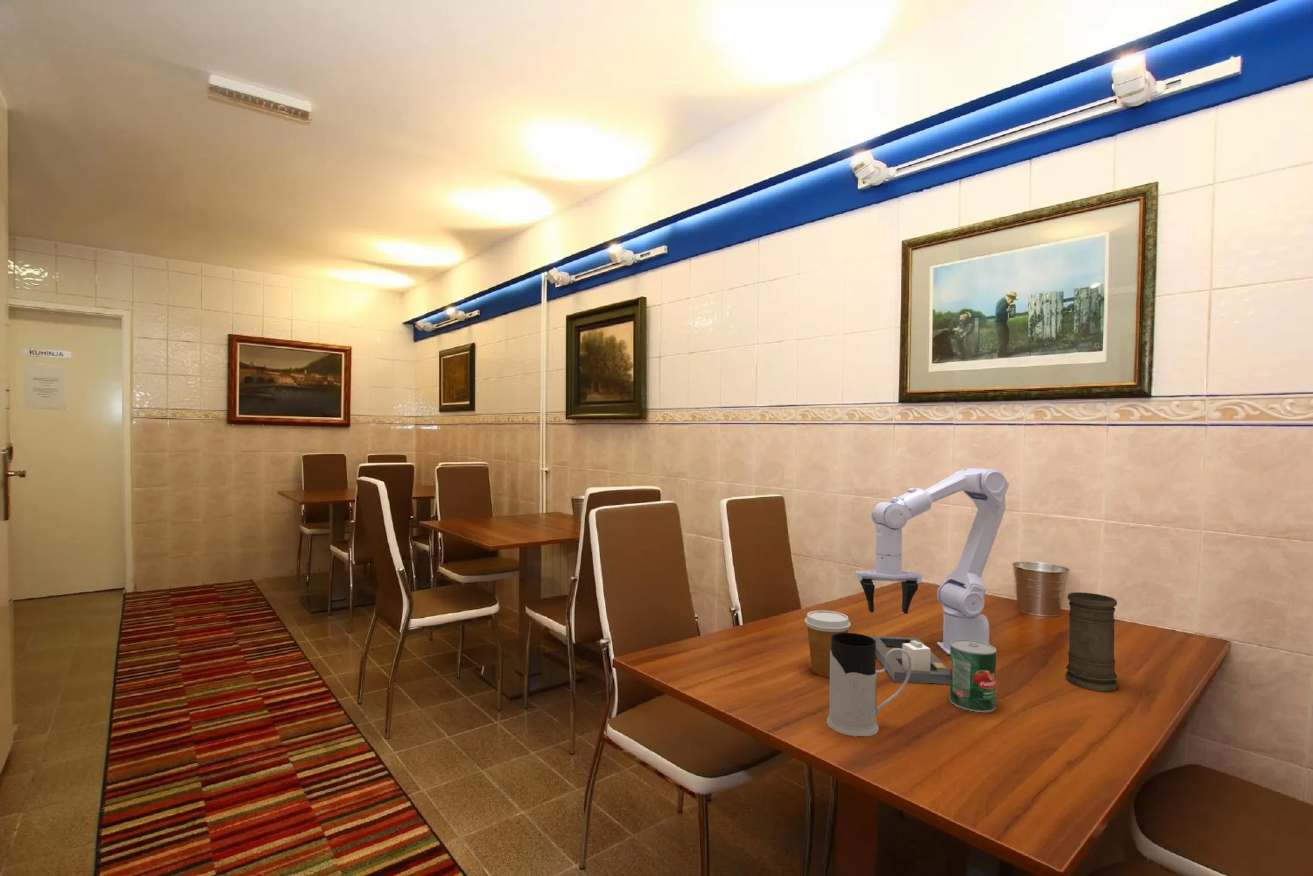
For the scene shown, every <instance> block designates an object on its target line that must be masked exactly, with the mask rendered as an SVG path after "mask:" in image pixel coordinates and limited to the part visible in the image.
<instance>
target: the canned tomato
mask: <svg viewBox="0 0 1313 876" xmlns="http://www.w3.org/2000/svg"><path fill="white" fill-rule="evenodd" d="M949 657H950V658H949V659H950V660H949V662H950V663H949V670H950V685H949V701H950V703H951V704H952V705H953V704H954V705H953V706H955V707H956V708H959V709H961V708H962V709H961V710H964V711H967V710H969V711H968V712H972V711H975V712H974V713H979V712H981V713H980V714H982V712H983V714H986V713H992V712H994V711H995V710H996V709H997V707H996V703H997V701H996V700H997V699H996V698H997V696H996V695H997V693H996V691H997V683H996V682H997V680H996V679H997V648H996V647H995V646H993V645H992V644H990V643H989V644H987V643H984V642H980V641H974V640H954V641H952V642H951V643H950V655H949Z"/></svg>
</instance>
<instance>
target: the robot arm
mask: <svg viewBox="0 0 1313 876" xmlns="http://www.w3.org/2000/svg"><path fill="white" fill-rule="evenodd" d="M1009 485H1010V484H1009V482H1008V480H1007V478H1006V477H1005V475H1004V473H1003V472H1002V471H1001V470H999V469H996V468H989V469H988V468H980V467H979V468H976V467H972V466H969V467H964V468H963V469H961V470H957V471H955V472H954V473H953V474H952V475H949V476H948V477H946V478H944V479H943V480H941V481H938V482H936V483H935V484H932V485H931V486H930V487H928V488H926V489H922V488H919V487H917V488H916V487H915V488H914V487H910V488H907V492H906V493H903V494H901V495H899V496H897V497H896V496H893V497H891V498H890V501H889V502H886V501H881V502H879V503H877V504H876V505H875V507H874V508H873V511H872V512H871V513H870V517H871V520H872V521H873V523H874V524H875V569H873V570H855V579H856V581H858V582H860V585H861V586H862V587H861V588H862V590H863V593H864V595H865V598H866V601H867V607H868V611H869V612H870V613H874V611H875V604H874V603H875V601H874V598H875V586H876V585H875V584H874V582H873V581H878V582H879V581H881V582H901V591H902V595H901V596H902V600H901V611H902V613H903V614H905V615H908V614H909V610H910V605H911V603H912V600H913V598H914V596H915V594H916V592H917V591H918V589H919V583H920V584H921V583H923V575H922V574H921V573H920V572H912V571H911V572H910V571H902V567H903V564H902V562H903V560H902V558H903V555H902V554H903V553H902V552H903V549H902V548H903V544H902V543H903V528H904V527H905V526H906V525H907V523H908V521H909V520H911V519H913V518H916V517H918V516H920V515H922V514H923V513H925V512H928V511H930V510H931V508H932V504H933V503H934V502H937V501H940V500H942V499H944V498H948V497H949V496H952V495H955V494H956V493H960V492H963V493H964V494H965V495H966V496H967V497H968V498H969V499H970V500H972V502H973V503H974V505H975V507H976V509H977V512H976V514H975V517H974V519H973V522H972V525H971V527H970V530H969V534H968V536H967V539H966V542H965V545H964V547H963V550H962V552H961V555H960V558H959V561H958V562H957V563H958V564H957V567H956V569H955V570H953V571H951V572H949V573H948V574H947V575H946V577H945V580H944V582H942V583H941V584H940V586H939V587H938V589H937V592H936V593H937V594H936V596H937V600H938V602H939V604H941V605H942V607H941V610H943V625H942V626H943V631H942V633H943V634H942V638H943V639H942V642H941V641H939V642H938V641H937V642H936V644H937V646H939V648H940V649H942V650H943V651H944V652H945V653H946V654H947V655H949V656H950V643H951V642H952V641H954V640H974V641H980V642H984V643H987V644H990V625H989V620H988V618H987V616H986V615H984V614H981V613H982V612H983V610H984V608H985V603H986V601H985V594H986V591H987V589H986V586H985V585H984V583H983V580H982V576H983V573H984V571H985V567H986V565H987V562H988V558H989V556H990V554H991V551H992V548H993V545H994V542H995V540H996V537H997V534H998V532H999V528H1000V525H1001V524H1002V520H1003V517H1004V514H1005V511H1006V495H1007V491H1008V489H1009Z"/></svg>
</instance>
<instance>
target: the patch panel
mask: <svg viewBox="0 0 1313 876" xmlns="http://www.w3.org/2000/svg"><path fill="white" fill-rule="evenodd" d="M868 636H869V637H871V638H873V639H874V640H875V641H876V656H877V657H876V659H877V660H878V659H879V660H878V661H879V663H880V664H881V665H882V667H883V668H884V660H885V656H886V654H887V653H888V652H889V651H890V650H891V649H894V648H900V649H902V644H904V643H910V641H914V640H915V641H917V642H919V643H921V644H923V645H924V646H926V647H928V646H927V645H926V644H925V643H924V642H923V641H922V640H921V639H920V638H919V637H909V636H908V637H907V636H906V637H903V636H881V635H868ZM886 646H893V647H886ZM894 646H896V647H894ZM886 672H887V674H888V675H889V677H890V678H891V679H892V681H893V682H895V683H904V681H905V679H906V676H907V673H908V670H904V669H903V667H902V651H894V652H892V653H891V654H890V655H889V657H888V660H887V668H886ZM908 683H912V684H927V683H933V685H946V684H950V668H948V667H947V666H946V665H945V664H944V663H943V661H942V660H940V659H939V657H937V655H936V654H935V653H934V652H933V651H932V650H931V649H930V671H912V670H911V673H910V677H909V680H908V682H907V684H908ZM934 683H935V684H934ZM939 683H940V684H939Z"/></svg>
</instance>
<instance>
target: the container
mask: <svg viewBox="0 0 1313 876" xmlns="http://www.w3.org/2000/svg"><path fill="white" fill-rule="evenodd" d="M1067 599H1068V601H1069V602H1068V605H1069V613H1068V616H1069V621H1068V622H1069V626H1068V627H1069V628H1068V629H1069V638H1068V639H1069V643H1068V645H1069V646H1068V653H1067V655H1068V664H1067V665H1066V667H1065V668H1066V670H1067V671H1066V672H1065V677H1066V680H1067V681H1068V683H1069V682H1070V684H1071V683H1072V684H1073V685H1074V686H1077V687H1080V688H1083V689H1087V690H1091V691H1097V692H1113V691H1115V690H1117V689H1118V686H1119V684H1118V681H1117V678H1118V676H1117V674H1116V672H1115V664H1116V660H1115V622H1116V620H1115V611H1116V608H1115V607H1116V606H1117V605H1118V602H1117V599H1115V598H1114V597H1112V596H1108V595H1103V594H1099V593H1092V592H1082V591H1080V592H1079V591H1077V592H1075V591H1073V592H1070V593H1068V595H1067Z"/></svg>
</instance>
